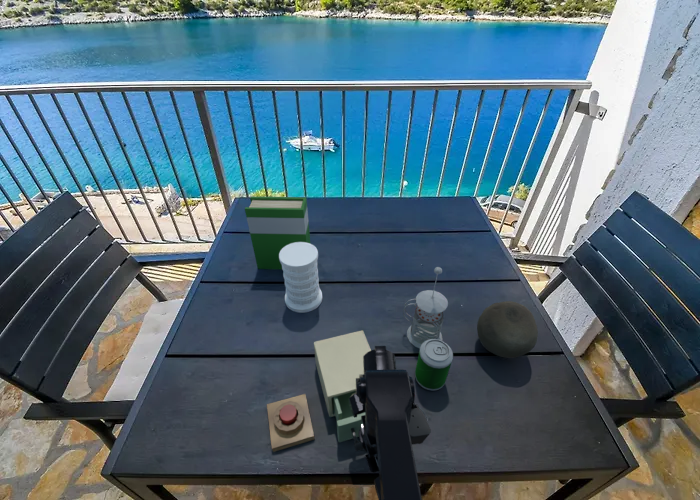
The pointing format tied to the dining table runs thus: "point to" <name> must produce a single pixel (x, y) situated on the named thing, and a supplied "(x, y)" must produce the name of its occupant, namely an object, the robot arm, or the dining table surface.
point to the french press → (427, 315)
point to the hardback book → (276, 227)
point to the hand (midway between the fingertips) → (377, 461)
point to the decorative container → (301, 276)
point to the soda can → (433, 364)
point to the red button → (288, 414)
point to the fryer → (340, 364)
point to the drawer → (347, 420)
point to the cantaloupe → (507, 329)
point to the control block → (293, 432)
